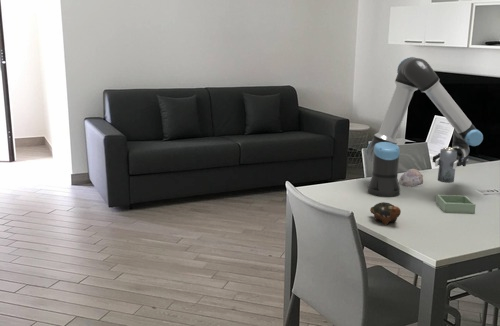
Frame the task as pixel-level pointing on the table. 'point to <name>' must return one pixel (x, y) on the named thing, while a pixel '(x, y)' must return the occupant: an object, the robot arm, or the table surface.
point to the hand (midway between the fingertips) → (445, 164)
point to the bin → (455, 204)
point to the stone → (411, 178)
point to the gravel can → (447, 165)
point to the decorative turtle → (385, 212)
